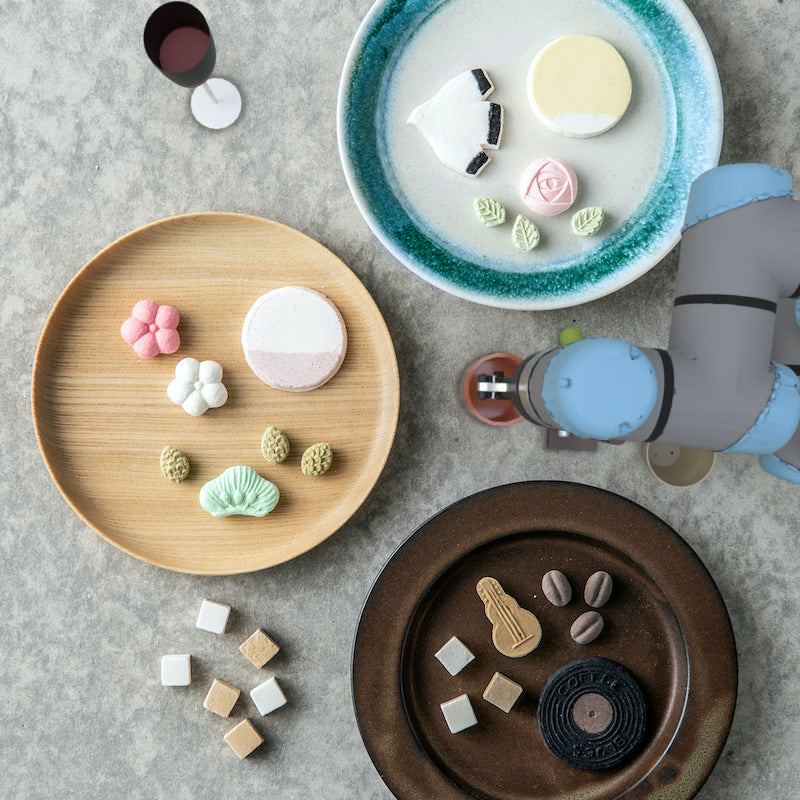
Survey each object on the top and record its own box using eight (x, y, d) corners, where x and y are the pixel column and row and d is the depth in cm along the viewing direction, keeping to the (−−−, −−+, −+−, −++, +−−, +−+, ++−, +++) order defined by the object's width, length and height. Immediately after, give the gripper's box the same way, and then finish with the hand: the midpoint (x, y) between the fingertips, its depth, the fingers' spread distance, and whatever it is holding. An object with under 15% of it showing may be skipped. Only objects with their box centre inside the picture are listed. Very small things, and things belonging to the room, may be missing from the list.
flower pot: (687, 487, 108) (709, 494, 101) (623, 474, 108) (640, 480, 101) (701, 423, 108) (723, 425, 101) (637, 410, 108) (654, 411, 101)
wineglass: (248, 81, 107) (216, 9, 87) (235, 138, 107) (200, 79, 87) (196, 68, 106) (152, -7, 86) (183, 125, 106) (136, 64, 86)
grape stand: (595, 403, 108) (647, 406, 86) (593, 449, 108) (645, 464, 86) (549, 401, 108) (589, 404, 86) (547, 448, 108) (587, 462, 86)
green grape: (579, 328, 108) (585, 326, 104) (578, 351, 108) (585, 349, 104) (557, 327, 108) (562, 325, 104) (556, 350, 108) (561, 348, 104)
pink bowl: (528, 357, 108) (539, 354, 100) (525, 424, 108) (536, 427, 100) (460, 354, 108) (466, 351, 100) (458, 422, 108) (463, 424, 100)
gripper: (468, 425, 66) (446, 416, 90) (643, 432, 67) (576, 421, 90) (471, 344, 66) (448, 356, 90) (646, 351, 66) (578, 361, 90)
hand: (512, 389), depth 90 cm, fingers closed on purple grape, 3 cm apart
